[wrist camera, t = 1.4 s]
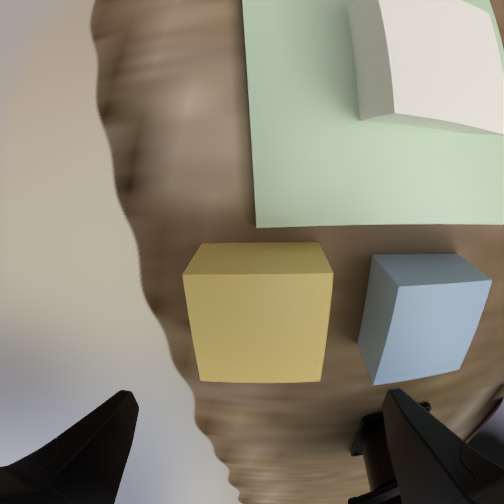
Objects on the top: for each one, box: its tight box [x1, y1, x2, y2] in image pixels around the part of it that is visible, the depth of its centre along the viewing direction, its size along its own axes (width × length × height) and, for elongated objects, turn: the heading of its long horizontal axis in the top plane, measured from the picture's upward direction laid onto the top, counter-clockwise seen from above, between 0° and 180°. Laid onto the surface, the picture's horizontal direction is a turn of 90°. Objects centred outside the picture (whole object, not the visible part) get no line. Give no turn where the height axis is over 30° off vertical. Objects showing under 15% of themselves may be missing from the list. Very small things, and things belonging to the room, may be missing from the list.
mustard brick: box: [182, 242, 334, 383], centre depth 14 cm, size 6×6×4 cm
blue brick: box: [357, 253, 492, 385], centre depth 14 cm, size 6×6×4 cm
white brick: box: [347, 0, 504, 136], centre depth 9 cm, size 6×6×4 cm
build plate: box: [242, 0, 504, 228], centre depth 11 cm, size 16×16×1 cm
